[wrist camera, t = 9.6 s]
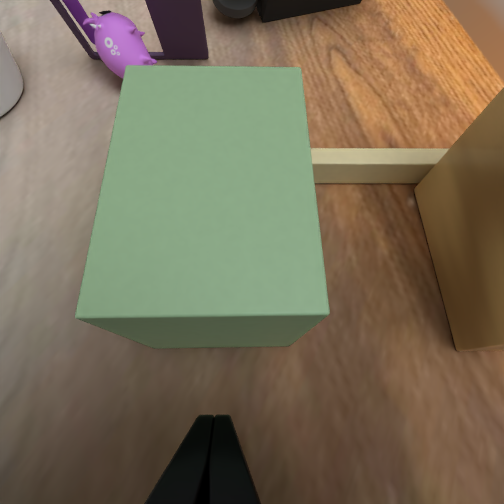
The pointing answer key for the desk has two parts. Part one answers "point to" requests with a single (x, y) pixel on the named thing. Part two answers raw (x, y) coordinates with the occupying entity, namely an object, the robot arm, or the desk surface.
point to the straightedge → (373, 164)
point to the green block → (207, 212)
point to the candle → (8, 78)
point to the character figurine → (277, 7)
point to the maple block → (470, 230)
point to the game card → (140, 33)
